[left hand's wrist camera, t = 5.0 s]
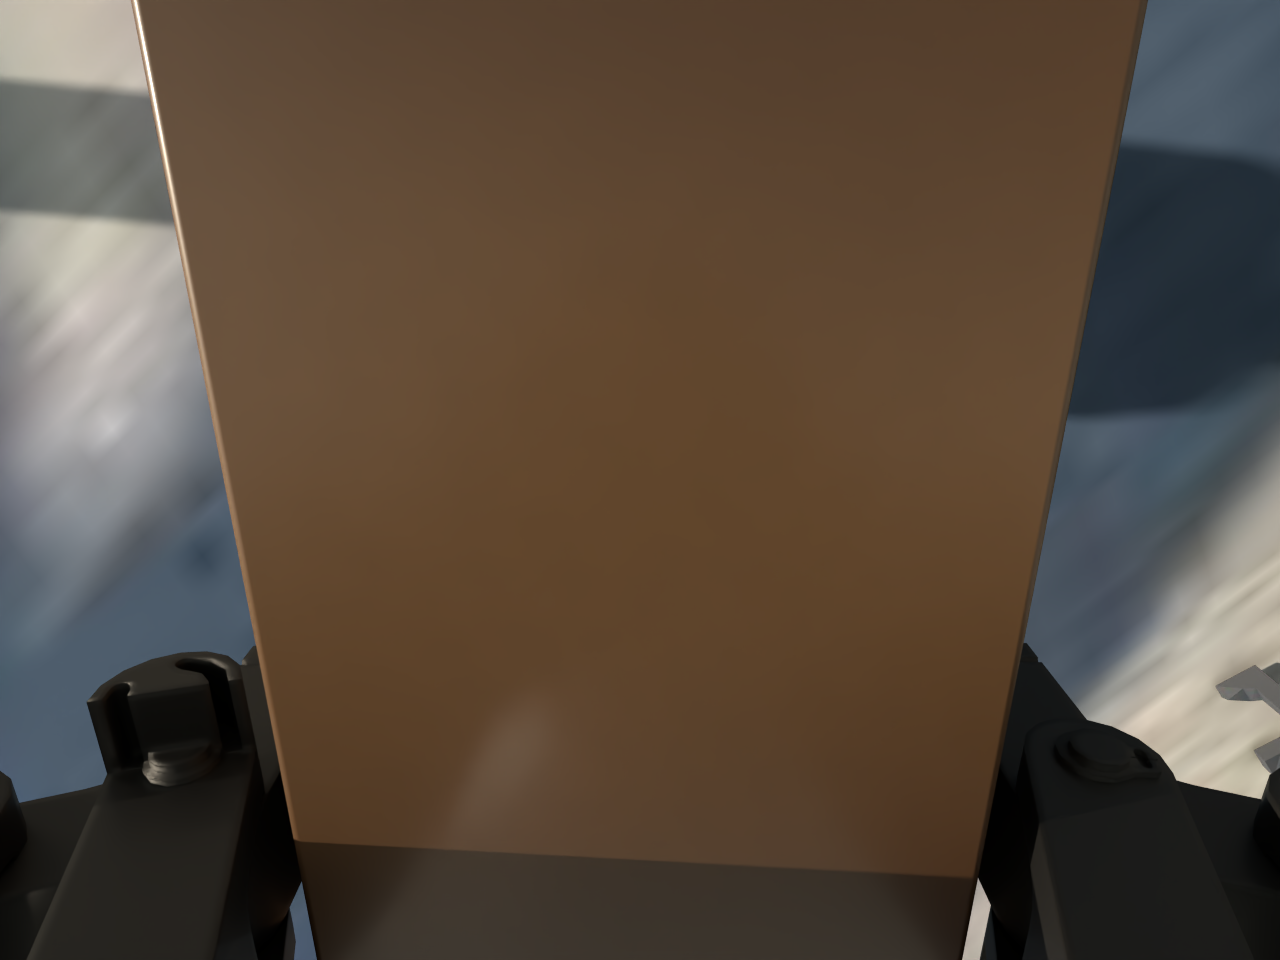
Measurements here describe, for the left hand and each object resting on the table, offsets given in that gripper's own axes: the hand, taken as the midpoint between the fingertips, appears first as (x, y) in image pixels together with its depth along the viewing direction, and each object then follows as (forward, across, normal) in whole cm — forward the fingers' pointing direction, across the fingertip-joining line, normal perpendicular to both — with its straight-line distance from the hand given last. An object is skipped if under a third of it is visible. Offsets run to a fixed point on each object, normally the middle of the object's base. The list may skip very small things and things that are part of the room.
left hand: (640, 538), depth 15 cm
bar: (+1, 0, -8) cm, 8 cm away
